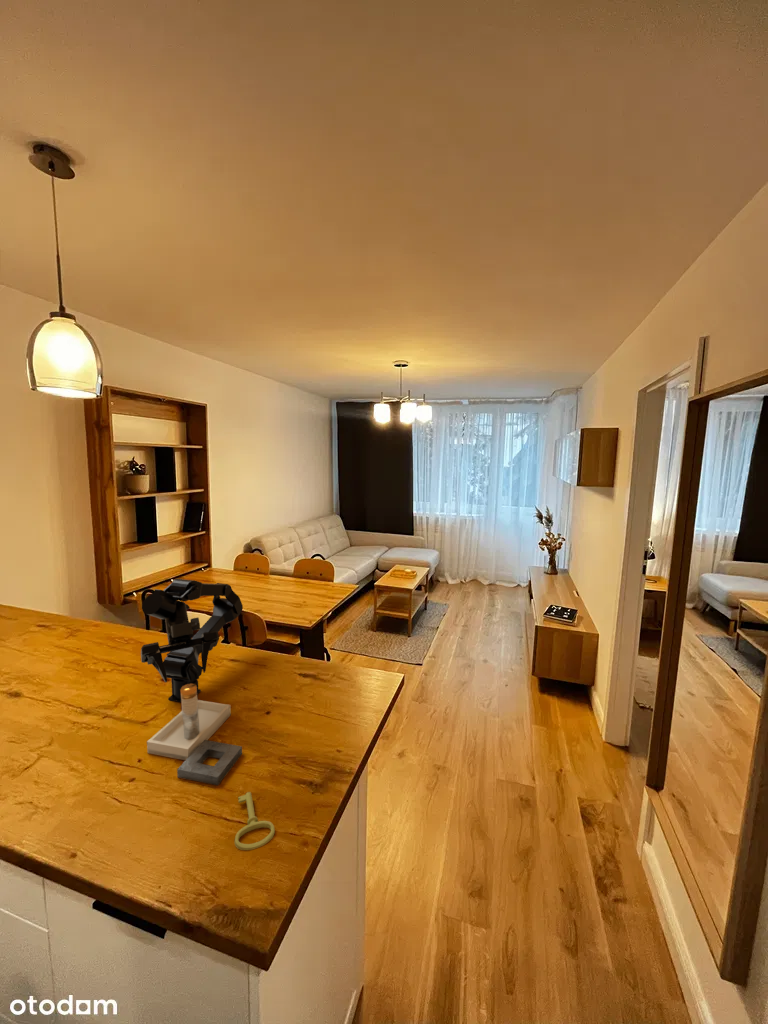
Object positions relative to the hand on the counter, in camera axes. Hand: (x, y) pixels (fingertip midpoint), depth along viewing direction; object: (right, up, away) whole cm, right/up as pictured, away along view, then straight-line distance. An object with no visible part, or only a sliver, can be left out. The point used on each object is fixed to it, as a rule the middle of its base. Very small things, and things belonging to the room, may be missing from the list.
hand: (185, 676), depth 110 cm
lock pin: (+3, -13, -4) cm, 14 cm away
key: (+26, -19, -27) cm, 42 cm away
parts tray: (+2, -14, -1) cm, 14 cm away
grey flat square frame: (+12, -16, -12) cm, 23 cm away
